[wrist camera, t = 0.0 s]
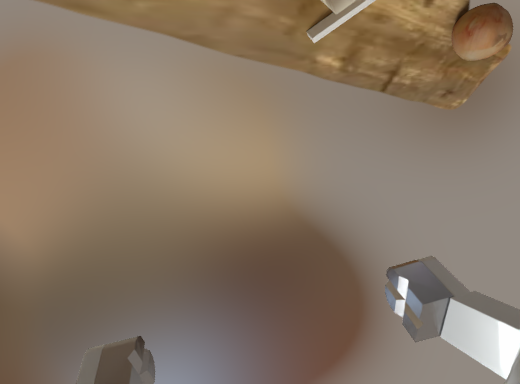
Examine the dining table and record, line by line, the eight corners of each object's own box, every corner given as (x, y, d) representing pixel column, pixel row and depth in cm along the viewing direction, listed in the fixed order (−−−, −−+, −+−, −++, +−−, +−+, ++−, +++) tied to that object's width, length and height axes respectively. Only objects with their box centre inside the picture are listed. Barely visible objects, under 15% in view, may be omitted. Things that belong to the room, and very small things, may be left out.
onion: (432, 50, 67) (463, 73, 60) (454, -2, 59) (492, 18, 53) (472, 45, 68) (506, 67, 62) (498, -7, 61) (540, 13, 54)
